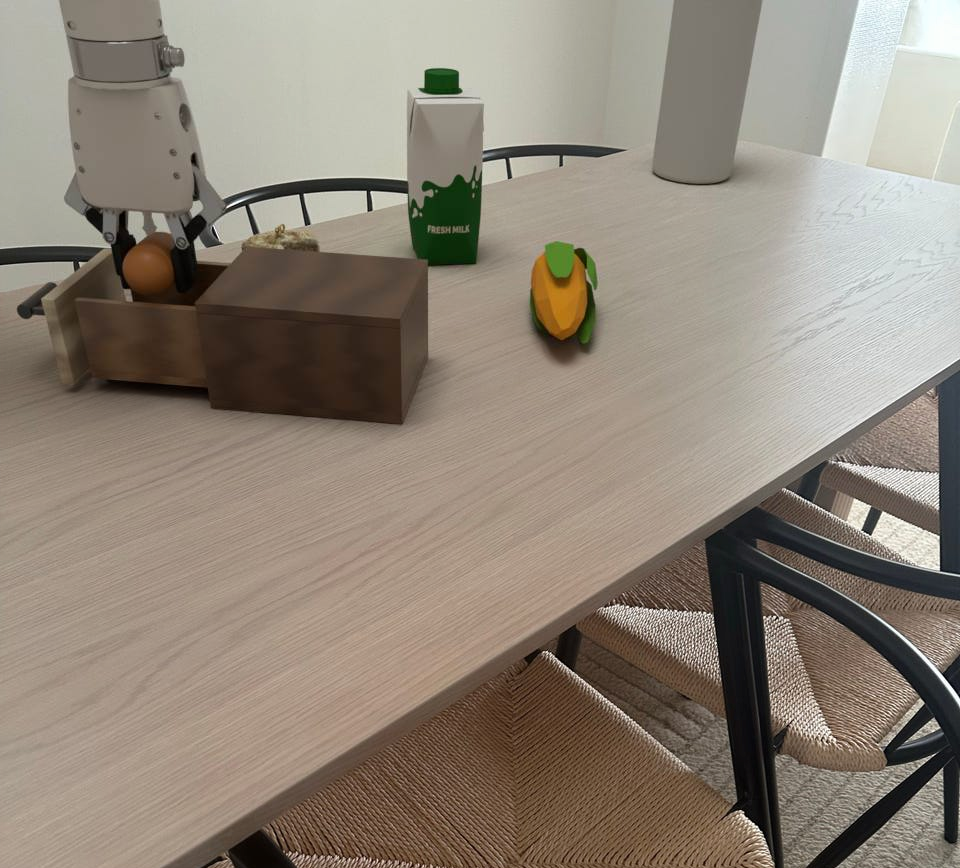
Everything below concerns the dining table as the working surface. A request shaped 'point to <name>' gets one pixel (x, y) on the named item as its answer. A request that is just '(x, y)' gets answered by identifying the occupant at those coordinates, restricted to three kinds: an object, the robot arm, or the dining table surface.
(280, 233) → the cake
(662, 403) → the dining table surface
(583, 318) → the corn
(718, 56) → the cylinder vase
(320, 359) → the cabinet
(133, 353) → the drawer
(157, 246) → the bread roll
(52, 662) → the dining table surface
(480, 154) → the milk carton
